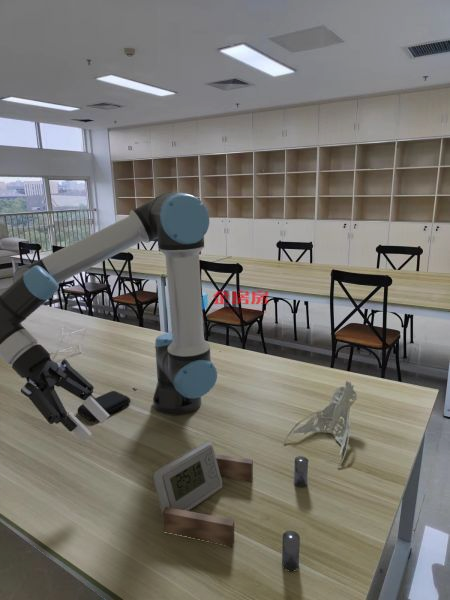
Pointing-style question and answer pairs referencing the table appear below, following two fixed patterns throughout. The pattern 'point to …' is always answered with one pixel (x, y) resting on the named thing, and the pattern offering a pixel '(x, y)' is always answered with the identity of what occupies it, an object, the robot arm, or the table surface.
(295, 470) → the posts
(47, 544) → the table surface
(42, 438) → the table surface
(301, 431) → the skeletal model
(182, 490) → the digital clock
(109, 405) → the carrying case or bag
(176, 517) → the chute
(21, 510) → the table surface
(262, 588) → the table surface
